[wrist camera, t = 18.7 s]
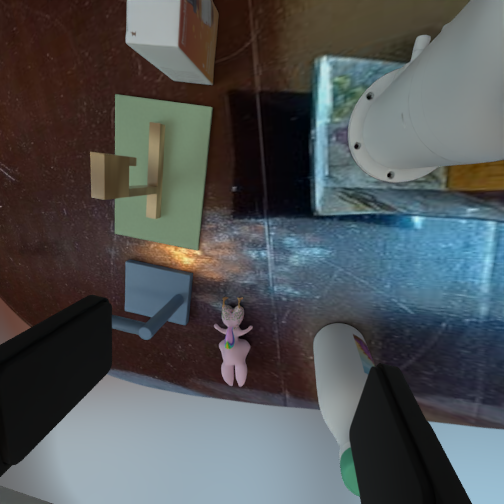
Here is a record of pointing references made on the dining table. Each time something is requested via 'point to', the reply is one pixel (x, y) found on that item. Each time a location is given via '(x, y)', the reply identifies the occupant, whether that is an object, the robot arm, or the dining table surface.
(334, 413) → the milk bottle
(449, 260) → the dining table surface
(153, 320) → the rail stand
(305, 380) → the dining table surface
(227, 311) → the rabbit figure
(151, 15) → the small box
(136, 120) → the mat
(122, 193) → the hanger
